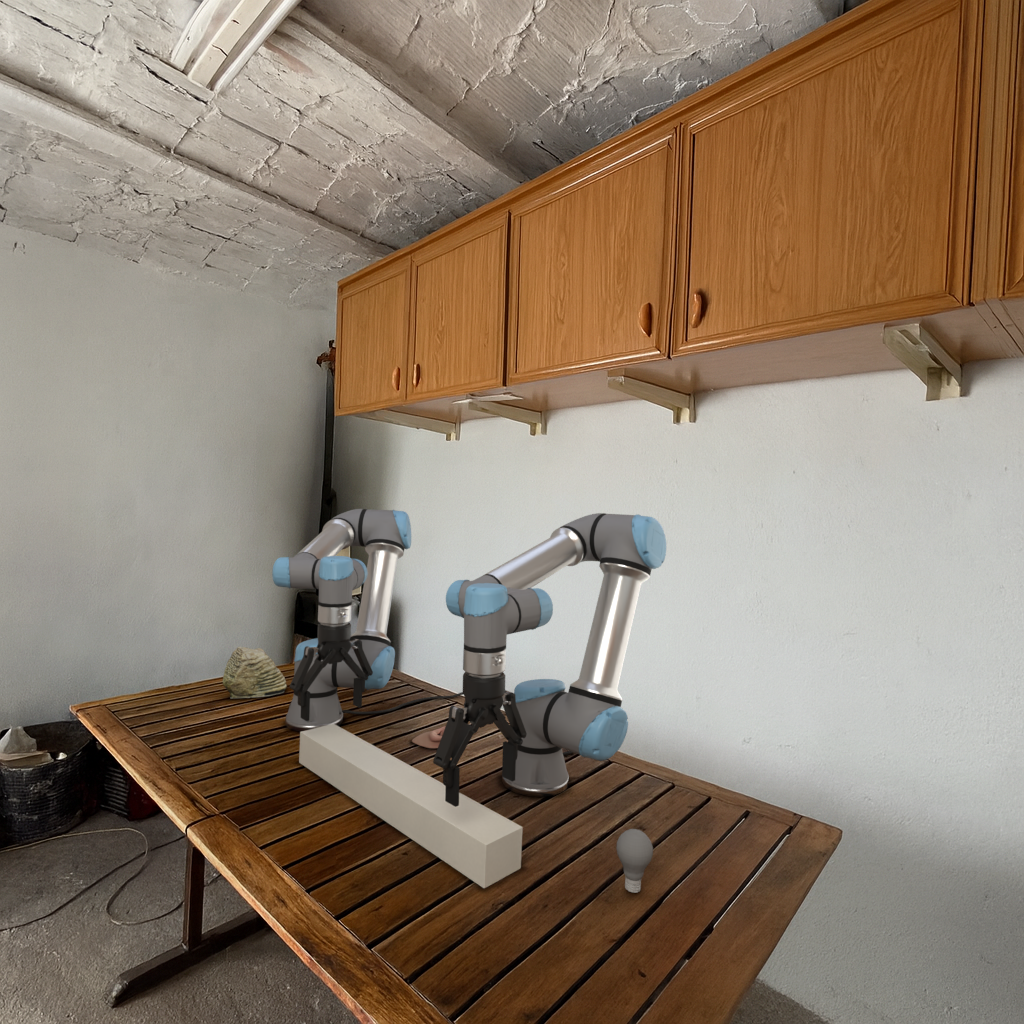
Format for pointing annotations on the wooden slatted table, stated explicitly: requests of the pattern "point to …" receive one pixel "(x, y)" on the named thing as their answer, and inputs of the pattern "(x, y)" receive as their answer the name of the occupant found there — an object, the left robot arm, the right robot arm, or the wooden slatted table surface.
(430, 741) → the anatomical model
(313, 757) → the long square beam
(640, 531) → the right robot arm
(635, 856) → the light bulb
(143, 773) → the wooden slatted table surface
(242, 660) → the fossil
